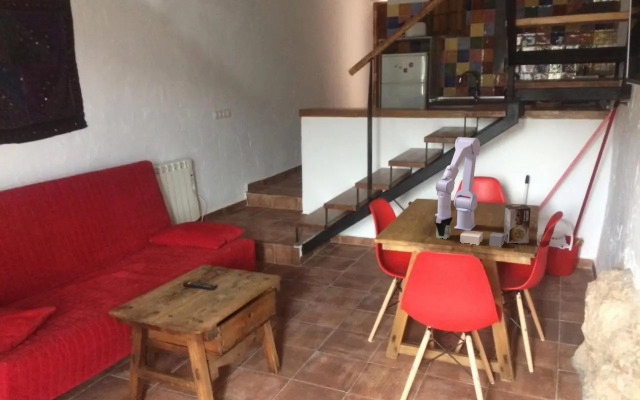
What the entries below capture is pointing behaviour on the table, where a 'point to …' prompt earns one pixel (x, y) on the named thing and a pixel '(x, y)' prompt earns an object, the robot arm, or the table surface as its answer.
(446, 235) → the green cube
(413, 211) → the table surface
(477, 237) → the cream base block
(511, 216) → the coffee box
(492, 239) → the grey cube
